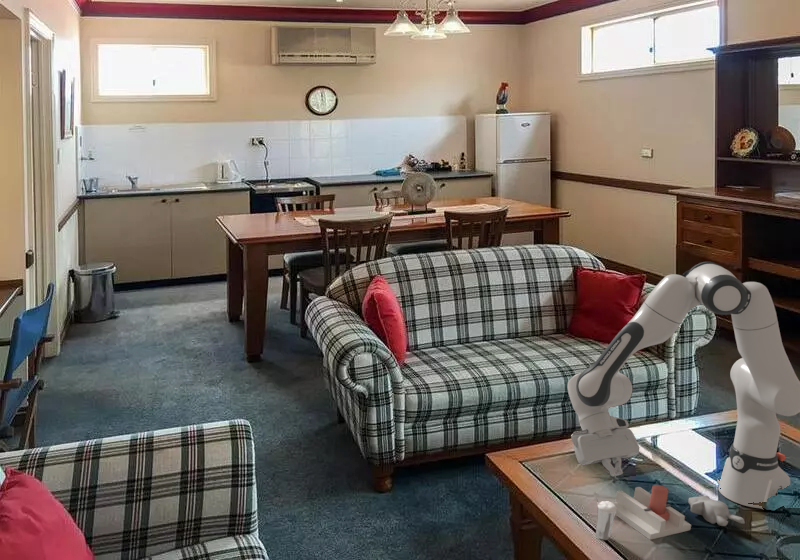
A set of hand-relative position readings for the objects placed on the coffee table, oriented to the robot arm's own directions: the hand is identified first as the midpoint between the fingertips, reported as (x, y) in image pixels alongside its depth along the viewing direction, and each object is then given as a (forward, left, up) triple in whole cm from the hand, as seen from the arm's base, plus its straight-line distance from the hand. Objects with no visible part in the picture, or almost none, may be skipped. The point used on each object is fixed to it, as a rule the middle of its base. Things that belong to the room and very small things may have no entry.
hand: (617, 475), depth 206 cm
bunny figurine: (-17, +19, -7) cm, 26 cm away
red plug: (0, +15, -4) cm, 16 cm away
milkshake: (+18, +15, -6) cm, 24 cm away
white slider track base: (0, +13, -6) cm, 14 cm away
